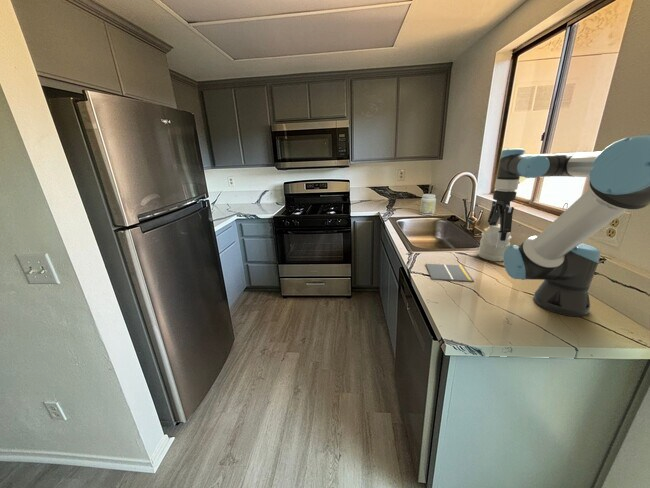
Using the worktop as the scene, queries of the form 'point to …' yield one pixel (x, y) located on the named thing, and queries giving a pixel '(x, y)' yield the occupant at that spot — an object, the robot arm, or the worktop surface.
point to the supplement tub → (428, 204)
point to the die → (493, 234)
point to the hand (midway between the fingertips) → (495, 243)
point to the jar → (492, 249)
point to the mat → (449, 272)
